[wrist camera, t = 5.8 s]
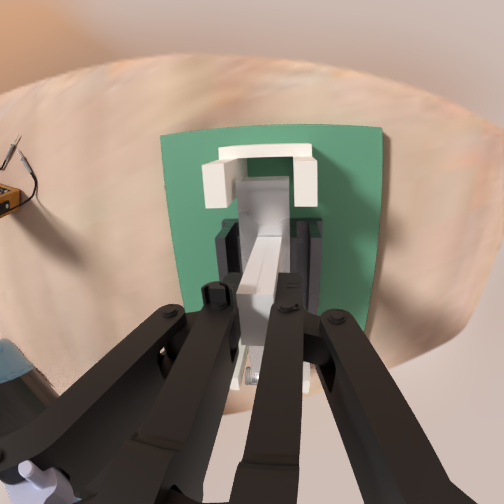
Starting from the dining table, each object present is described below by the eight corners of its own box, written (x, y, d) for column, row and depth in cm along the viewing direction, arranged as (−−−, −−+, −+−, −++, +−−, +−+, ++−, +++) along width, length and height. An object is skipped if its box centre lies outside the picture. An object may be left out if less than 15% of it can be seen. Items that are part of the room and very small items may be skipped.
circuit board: (359, 339, 28) (374, 403, 20) (194, 335, 31) (166, 394, 23) (377, 127, 20) (423, 125, 12) (165, 135, 23) (106, 139, 15)
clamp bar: (293, 372, 24) (293, 390, 22) (249, 371, 24) (245, 388, 22) (297, 175, 17) (297, 181, 15) (232, 177, 18) (225, 184, 16)
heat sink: (317, 302, 26) (321, 335, 21) (232, 301, 27) (220, 332, 22) (321, 217, 23) (328, 237, 18) (224, 218, 24) (208, 238, 19)
